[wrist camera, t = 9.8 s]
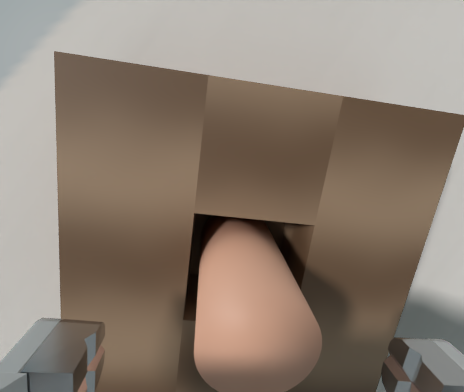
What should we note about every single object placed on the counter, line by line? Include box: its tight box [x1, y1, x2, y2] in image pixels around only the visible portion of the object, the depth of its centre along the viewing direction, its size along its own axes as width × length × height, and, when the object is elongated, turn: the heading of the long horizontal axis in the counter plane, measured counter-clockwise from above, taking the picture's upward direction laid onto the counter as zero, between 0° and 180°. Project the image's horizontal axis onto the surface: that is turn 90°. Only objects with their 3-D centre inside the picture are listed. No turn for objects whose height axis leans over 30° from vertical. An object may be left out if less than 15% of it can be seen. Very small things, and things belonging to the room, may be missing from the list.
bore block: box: [54, 51, 464, 392], centre depth 13 cm, size 14×14×5 cm
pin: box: [194, 215, 322, 392], centre depth 11 cm, size 4×4×7 cm
